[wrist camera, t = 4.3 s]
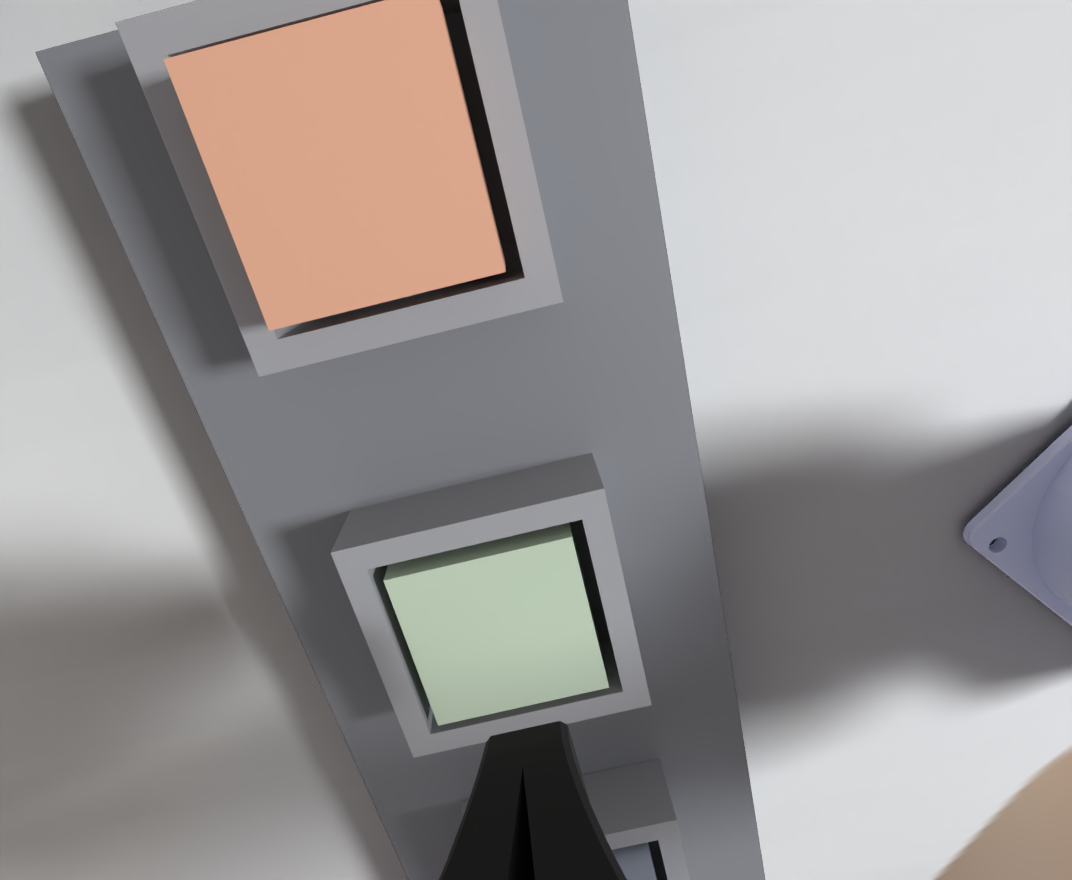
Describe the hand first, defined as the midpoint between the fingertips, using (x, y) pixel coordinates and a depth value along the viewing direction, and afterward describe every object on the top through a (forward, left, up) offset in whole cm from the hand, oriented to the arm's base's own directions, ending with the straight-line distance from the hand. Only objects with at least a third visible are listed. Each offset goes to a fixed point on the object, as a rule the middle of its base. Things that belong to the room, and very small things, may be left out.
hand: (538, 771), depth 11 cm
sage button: (0, 0, -6) cm, 6 cm away
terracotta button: (+8, -6, -5) cm, 11 cm away
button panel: (0, +1, -9) cm, 8 cm away
